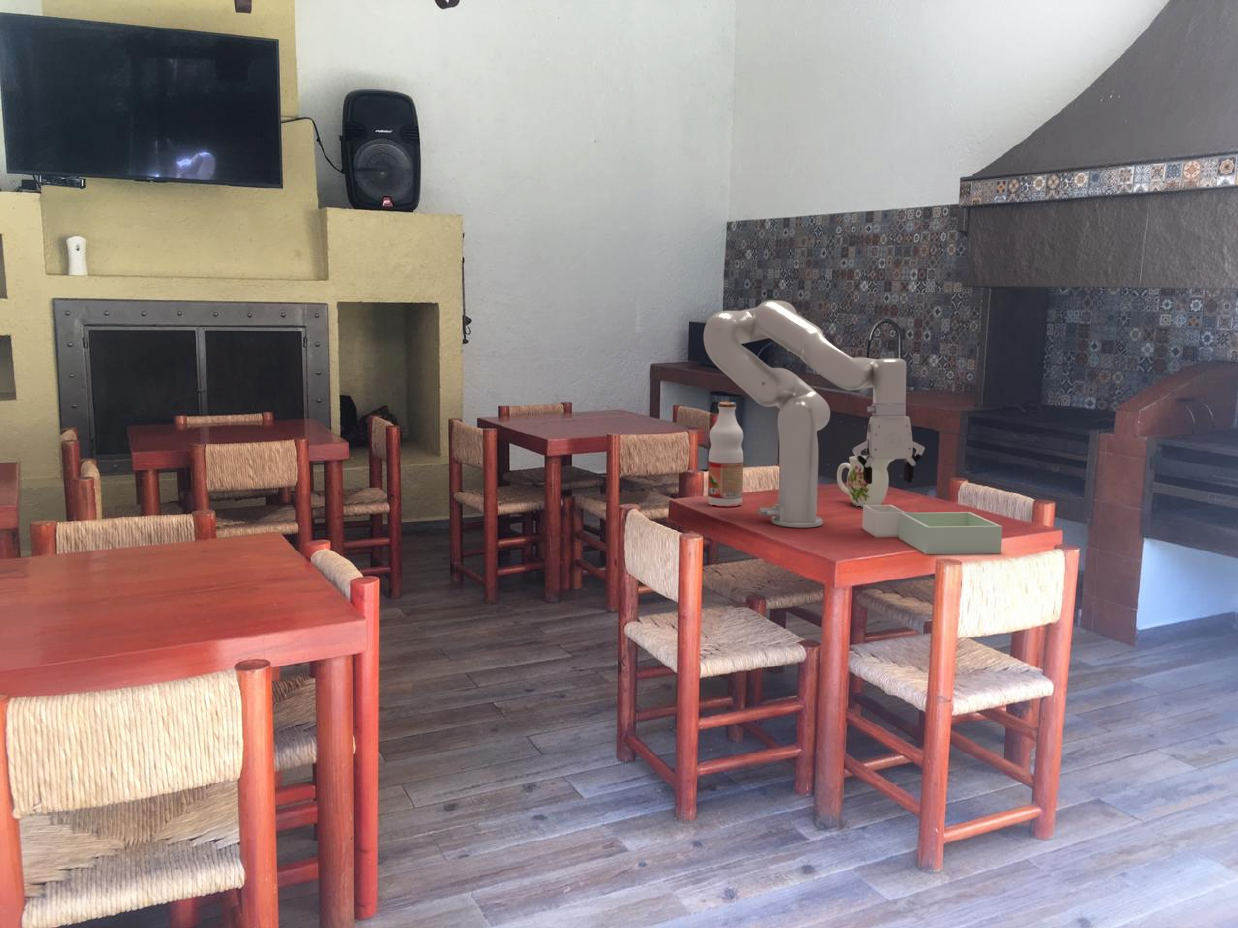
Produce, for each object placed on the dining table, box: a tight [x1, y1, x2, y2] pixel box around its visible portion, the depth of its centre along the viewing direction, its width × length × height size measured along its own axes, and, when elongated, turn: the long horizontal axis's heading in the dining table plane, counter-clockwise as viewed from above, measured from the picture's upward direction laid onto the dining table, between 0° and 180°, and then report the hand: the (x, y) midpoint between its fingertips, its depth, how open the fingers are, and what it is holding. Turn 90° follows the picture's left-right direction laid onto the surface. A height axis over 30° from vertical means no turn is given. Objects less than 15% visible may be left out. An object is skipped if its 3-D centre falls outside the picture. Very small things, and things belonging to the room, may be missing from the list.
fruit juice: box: [707, 401, 744, 505], centre depth 289 cm, size 9×9×28 cm
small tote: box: [862, 504, 907, 538], centre depth 255 cm, size 7×10×6 cm
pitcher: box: [836, 455, 896, 508], centre depth 291 cm, size 11×18×14 cm, turn 43°
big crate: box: [898, 511, 1003, 555], centre depth 241 cm, size 17×17×6 cm
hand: (888, 482), depth 254 cm, fingers open, 9 cm apart
